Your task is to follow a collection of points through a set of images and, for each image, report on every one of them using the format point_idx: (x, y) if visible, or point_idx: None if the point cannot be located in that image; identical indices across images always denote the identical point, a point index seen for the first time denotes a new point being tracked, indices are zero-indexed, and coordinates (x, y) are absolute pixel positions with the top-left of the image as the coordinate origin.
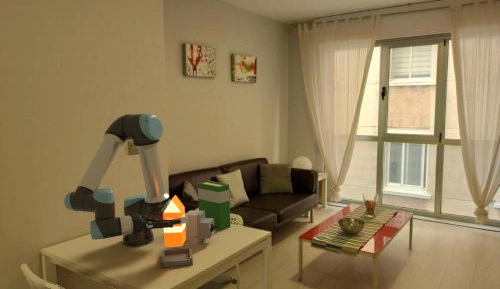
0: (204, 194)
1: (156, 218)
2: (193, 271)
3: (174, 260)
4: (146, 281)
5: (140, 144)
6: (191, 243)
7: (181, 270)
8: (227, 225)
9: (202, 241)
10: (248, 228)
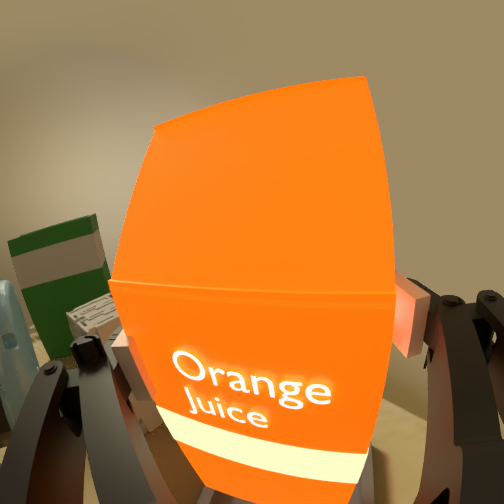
0: (38, 266)
1: (165, 492)
2: (420, 433)
3: (363, 495)
4: None
5: None
6: (158, 420)
7: (407, 473)
8: None
9: None
10: None
